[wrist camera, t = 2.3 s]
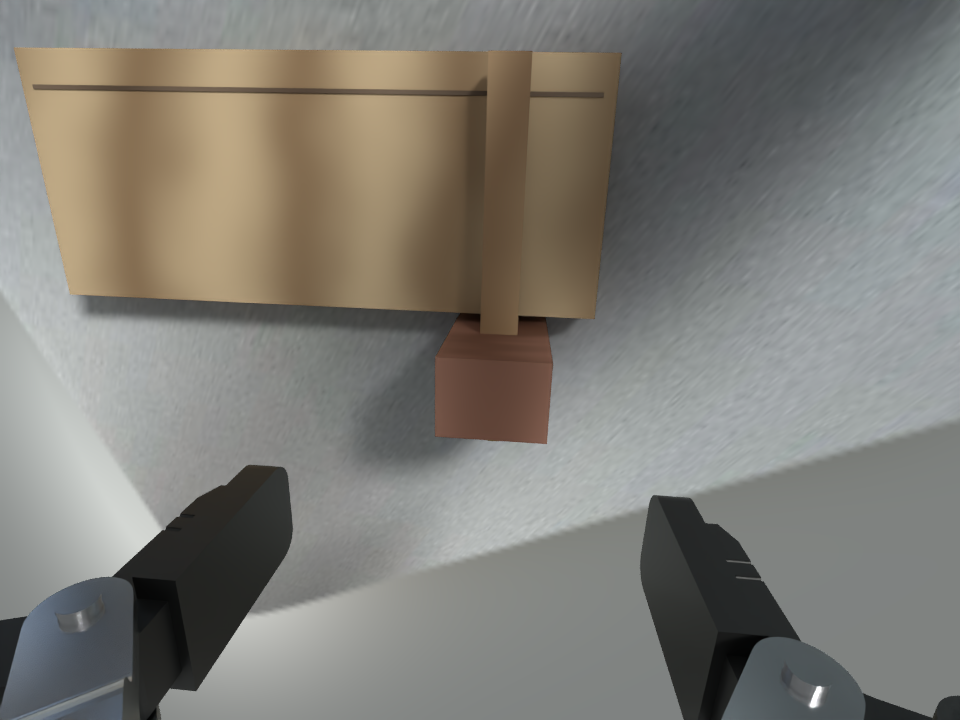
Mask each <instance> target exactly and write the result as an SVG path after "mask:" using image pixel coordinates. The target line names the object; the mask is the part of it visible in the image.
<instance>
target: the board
mask: <svg viewBox="0 0 960 720" xmlns="http://www.w3.org/2000/svg"><path fill="white" fill-rule="evenodd" d="M14 51H15V55H16V59H17V64H18V68H19V73H20V77H21V81H22V86H23V90H24V94H25V99H26V103H27V108H28V112H29V116H30V121H31V125H32V129H33V134H34V138H35V143H36V147H37V151H38V156H39V160H40V164H41V169H42V173H43V178H44V182H45V186H46V191H47V195H48V199H49V204H50V208H51V213H52V217H53V221H54V226H55V230H56V234H57V239H58V243H59V248H60V252H61V256H62V261H63V265H64V269H65V274H66V278H67V283H68V287H69V291H70V294H74V295H95V296H116V297H137V298H158V299H180V300H201V301H222V302H243V303H264V304H286V305H307V306H328V307H349V308H370V309H392V310H413V311H434V312H455V313H476V314H481V287H482V253H483V219H484V185H485V150H486V116H487V82H488V52H468V51H352V50H235V49H118V48H14ZM621 54H622V53H585V52H532V71H531V89H530V108H529V127H528V146H527V165H526V183H525V202H524V221H523V240H522V258H521V277H520V296H519V316H540V317H561V318H582V319H595V309H596V299H597V289H598V280H599V270H600V260H601V250H602V240H603V230H604V221H605V211H606V201H607V191H608V181H609V172H610V162H611V152H612V142H613V132H614V122H615V113H616V103H617V93H618V83H619V73H620V64H621Z"/></svg>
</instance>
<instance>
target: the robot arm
mask: <svg viewBox="0 0 960 720" xmlns="http://www.w3.org/2000/svg"><path fill="white" fill-rule="evenodd" d="M292 532H293V525H292V514H291V504H290V493H289V483H288V475H287V472H286V470H285V468H283V467H275V466H261V465H248V466H246V467H245V468H244V469H242V470H241V471H240V472H239V473H238V474H237V475H236V476H235V477H234V478H233V479H232V480H231V481H230V482H229V483H228V484H227V485H226V486H223V485H221V486H219V487H217V488H215V489H213V490H211V491H209V492H208V493H206V494H204V495H202V496H200V497H198V498H197V499H196V500H195V501H194V502H193V503H191V504H190V505H189V506H188V507H187V508H186V509H185V510H184V511H183V512H182V513H181V514H180V517H176V518H175V519H174V520H173V521H172V522H171V523H170V524H169V525H168V526H167V527H166V530H162V531H161V532H160V533H159V534H158V535H157V536H156V537H155V538H154V539H153V540H151V541H150V542H149V543H148V544H147V545H146V546H145V547H144V548H143V549H142V550H141V551H140V552H138V554H136V555H135V556H134V557H133V558H132V559H131V560H130V561H129V562H128V563H127V564H125V565H124V566H123V567H122V568H121V569H120V570H119V571H118V572H117V573H116V574H115V575H114V576H112V577H101V578H95V579H90V580H86V581H83V582H80V583H77V584H74V585H72V586H69V587H67V588H65V589H63V590H61V591H59V592H57V593H55V594H53V595H52V596H50V597H49V598H47V599H46V600H44V601H43V602H42V603H40V604H39V605H38V606H37V607H36V608H35V609H34V610H33V611H32V612H31V613H30V614H29V615H28V616H26V617H20V618H13V619H7V620H1V621H0V720H161V714H160V709H159V703H160V701H161V700H162V698H163V697H164V695H165V694H166V693H167V691H168V690H169V689H170V688H171V689H180V690H190V691H196V690H197V689H198V688H199V686H200V684H201V683H202V682H203V680H204V679H205V677H206V675H207V674H208V672H209V671H210V669H211V668H212V666H213V665H214V663H215V662H216V660H217V659H218V657H219V655H220V654H221V653H222V651H223V650H224V648H225V647H226V645H227V644H228V642H229V641H230V639H231V638H232V636H233V635H234V633H235V632H236V630H237V628H238V627H239V626H240V624H241V622H242V621H243V619H244V618H245V616H246V615H247V613H248V612H249V610H250V609H251V607H252V606H253V604H254V603H255V601H256V600H257V598H258V597H259V595H260V594H261V592H262V591H263V589H264V588H265V586H266V585H267V583H268V582H269V580H270V579H271V577H272V576H273V574H274V573H275V571H276V570H277V568H278V567H279V565H280V563H281V562H282V560H283V559H284V557H285V556H286V554H287V552H288V549H289V547H290V543H291V539H292ZM640 570H641V581H642V586H643V589H644V593H645V596H646V599H647V602H648V606H649V609H650V612H651V615H652V619H653V622H654V625H655V628H656V632H657V635H658V638H659V641H660V644H661V647H662V651H663V654H664V657H665V661H666V664H667V667H668V670H669V673H670V676H671V680H672V683H673V686H674V689H675V693H676V696H677V699H678V702H679V706H680V709H681V712H682V715H683V719H684V720H960V696H950V697H947V698H944V699H943V700H941V701H940V702H939V704H938V706H937V709H936V711H935V713H934V716H933V718H931V717H928V716H925V715H922V714H919V713H916V712H913V711H910V710H907V709H904V708H901V707H898V706H896V705H893V704H890V703H887V702H884V701H881V700H878V699H876V698H873V697H871V696H868V695H866V694H864V693H862V691H861V689H860V687H859V686H858V684H857V682H856V681H855V680H854V678H853V677H852V676H851V675H850V674H849V672H848V671H847V670H846V669H845V668H843V667H842V666H841V665H840V664H839V663H838V662H836V661H835V660H834V659H833V658H831V657H830V656H828V655H827V654H825V653H824V652H822V651H821V650H819V649H817V648H815V647H813V646H811V645H808V644H806V643H804V642H801V640H800V639H799V637H798V635H797V634H796V632H795V631H794V629H793V627H792V626H791V624H790V623H789V621H788V620H787V618H786V616H785V615H784V613H783V612H782V610H781V608H780V607H779V605H778V604H777V602H776V600H775V599H774V597H773V596H772V594H771V593H770V591H769V589H768V588H767V586H766V585H765V583H764V582H762V581H761V577H760V575H759V573H758V572H757V570H756V569H755V567H754V566H753V565H751V561H750V559H749V558H748V556H747V555H746V553H745V551H744V550H743V548H742V547H741V545H740V543H739V542H738V541H737V540H736V539H735V538H733V537H732V536H731V535H730V534H729V533H727V532H726V531H725V530H724V529H723V528H721V527H720V526H719V525H718V524H707V523H705V522H704V520H703V518H702V516H701V515H700V513H699V511H698V509H697V508H696V506H695V504H694V502H693V501H692V499H690V498H685V497H671V496H658V495H653V496H652V498H651V500H650V503H649V508H648V514H647V521H646V527H645V534H644V539H643V545H642V552H641V561H640Z"/></svg>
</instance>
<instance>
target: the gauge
mask: <svg viewBox="0 0 960 720" xmlns="http://www.w3.org/2000/svg"><path fill="white" fill-rule="evenodd" d="M531 71H532V51H488V82H487V116H486V150H485V185H484V219H483V253H482V287H481V314H476V313H460V314H459V316H458V318H457V319H456V321H455V323H454V325H453V326H452V328H451V330H450V332H449V334H448V335H447V337H446V339H445V341H444V342H443V344H442V346H441V348H440V350H439V351H438V353H437V355H436V357H435V437H449V438H464V439H480V440H488V441H510V442H525V443H541V444H547V434H548V421H549V408H550V395H551V382H552V370H553V361H552V355H551V348H550V342H549V336H548V330H547V324H546V317H540V316H519V296H520V277H521V258H522V240H523V221H524V202H525V183H526V165H527V146H528V127H529V108H530V89H531Z"/></svg>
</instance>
